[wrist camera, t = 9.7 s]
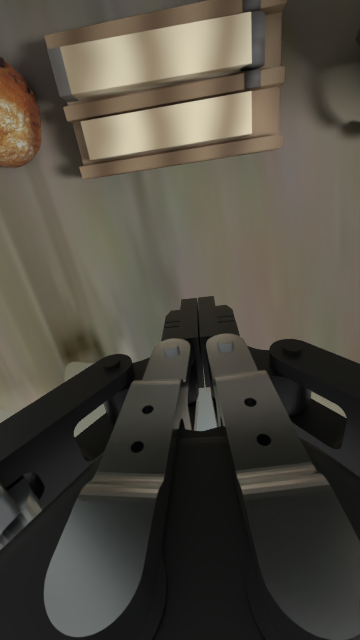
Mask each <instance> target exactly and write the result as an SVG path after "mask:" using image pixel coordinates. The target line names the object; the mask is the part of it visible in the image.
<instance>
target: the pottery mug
mask: <svg viewBox="0 0 360 640" xmlns="http://www.w3.org/2000/svg"><path fill="white" fill-rule="evenodd" d="M356 42H357V43H358V44H359V46H360V28H359V30H358V33H357V38H356Z"/></svg>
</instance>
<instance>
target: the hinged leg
mask: <svg viewBox="0 0 360 640" xmlns="http://www.w3.org/2000/svg"><path fill="white" fill-rule="evenodd" d="M47 51H48V55H49V59H50V63H51V66H52V70H53V74H54V78H55V81H56V85H57V89H58V92H59V96H60V97H61V98H62V99H64V100H65V101H67V102H68V103H69V102H75V101H81V100H86V99H92V98H98V97H104V96H109V95H115V94H121V93H127V92H133V91H138V90H144V89H150V88H156V87H162V86H167V85H173V84H179V83H185V82H191V81H196V80H202V79H208V78H214V77H219V76H225V75H231V74H237V73H243V72H247V71H251V70H256V69H259V68H261V67H263V66H264V65H265V13H264V12H263V11H253V12H246V13H241V14H235V15H230V16H225V17H219V18H214V19H208V20H203V21H198V22H192V23H187V24H181V25H176V26H171V27H165V28H160V29H154V30H149V31H143V32H138V33H133V34H127V35H122V36H116V37H111V38H106V39H100V40H95V41H89V42H84V43H79V44H73V45H68V46H62V47H57V48H51V49H47Z"/></svg>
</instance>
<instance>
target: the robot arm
mask: <svg viewBox="0 0 360 640" xmlns="http://www.w3.org/2000/svg"><path fill="white" fill-rule="evenodd" d="M198 306H199V311H198ZM203 367H204V374H203ZM204 375H205V384H206V387H211V396H212V404H213V409H214V415H215V421H216V426H217V427H216V428H213V429H210V430H206V431H196V430H197V416H198V393H199V388H204ZM311 391H313V392H314V393H316V394H318V395H320V396H322V397H324V398H326V399H327V400H329V401H331V402H333V403H335V404H337V405H338V406H339V407H340V408H341V409H342V410H343V411H344V412H345V414H346V417H347V418H345V417H343V416H341V415H340V414H338V413H336V412H334V411H332V410H331V409H329V408H327V407H325V406H324V405H322V404H320V403H318V402H316V401H315V400H313V399H311ZM101 404H104V406H105V409H106V413H105V414H104V415H103V416H101V417H100V418H99V419H98V420H96V421H95V422H94V423H93V424H91V425H90V426H89V427H88V428H86V429H85V430H84V431H83V432H81V433H80V434H79V435H78V436H76V437H74V429H75V427H76V425H77V424H78V422H79V421H81V420H82V419H83V418H84V417H86V416H87V415H88V414H90V413H91V412H92V411H93V410H95V409H96V408H97V407H99V406H100V405H101ZM0 640H360V364H359V363H356V362H354V361H351V360H349V359H346V358H344V357H341V356H339V355H336V354H334V353H331V352H329V351H326V350H324V349H321V348H319V347H316V346H314V345H311V344H309V343H306V342H304V341H300V340H296V339H283V340H279V341H276V342H274V343H273V344H272V345H271V346H270V350H260V349H255V348H251V347H249V346H247V345H246V343H245V341H244V339H243V338H242V337H240V335H239V331H238V328H237V324H236V321H235V317H234V314H233V310H232V309H231V308H230V307H228V306H227V305H221V306H215V301H214V296H209V297H200V298H198V302H197V298H191V299H182V300H181V310H174V311H171V312H170V313H169V314H168V315H167V316H166V318H165V324H164V329H163V335H162V340H161V342H160V343H158V344H157V345H156V346H155V347H154V348H153V351H152V354H151V356H150V357H149V358H147V359H145V360H142V361H138V362H135V363H132V360H131V358H130V357H129V356H127V355H124V354H114V355H110V356H107V357H105V358H102V359H101V360H99V361H98V362H96V363H94V364H93V365H91V366H90V367H88V368H87V369H85V370H84V371H82V372H80V373H79V374H77V375H75V376H74V377H72V378H71V379H69V380H68V381H66V382H64V383H63V384H61V385H60V386H58V387H57V388H55V389H53V390H52V391H50V392H49V393H47V394H46V395H44V396H42V397H41V398H39V399H38V400H36V401H35V402H33V403H31V404H30V405H28V406H27V407H25V408H23V409H22V410H20V411H19V412H17V413H16V414H14V415H12V416H11V417H9V418H8V419H6V420H5V421H3V422H1V423H0Z"/></svg>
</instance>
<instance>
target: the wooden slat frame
mask: <svg viewBox="0 0 360 640" xmlns="http://www.w3.org/2000/svg"><path fill="white" fill-rule="evenodd" d="M286 4H287V0H207V1H202V2H198V3H193V4H188V5H184V6H179V7H174V8H170V9H165V10H160V11H156V12H151V13H146V14H142V15H137V16H132V17H128V18H123V19H118V20H114V21H109V22H104V23H100V24H95V25H90V26H86V27H81V28H76V29H72V30H67V31H62V32H58V33H53V34H48V35H44V37H45V41H46V45H47V48H48V49H51V48H57V47H62V46H68V45H73V44H79V43H84V42H89V41H95V40H100V39H106V38H111V37H116V36H122V35H127V34H133V33H138V32H143V31H149V30H154V29H160V28H165V27H171V26H176V25H181V24H187V23H192V22H198V21H203V20H208V19H214V18H219V17H225V16H230V15H235V14H241V13H246V12H253V11H263V12H264V13H265V65H264V66H263V67H261V68H259V69H256V70H251V71H247V72H243V73H237V74H231V75H225V76H219V77H214V78H208V79H202V80H196V81H191V82H185V83H179V84H173V85H167V86H162V87H156V88H150V89H144V90H138V91H133V92H127V93H121V94H115V95H109V96H104V97H98V98H92V99H86V100H81V101H75V102H69V103H68V102H67V104H68V106H66V107H63V108H64V112H65V116H66V119H67V121H68V122H70V123H73V127H74V131H75V135H76V139H77V143H78V146H79V150H80V154H81V158H82V162H83V166H82V167H79V168H80V172H81V175H82V179H91V178H99V177H105V176H112V175H118V174H124V173H131V172H137V171H143V170H150V169H156V168H163V167H169V166H175V165H182V164H188V163H194V162H201V161H207V160H213V159H220V158H226V157H232V156H239V155H245V154H251V153H258V152H264V151H271V150H275V149H279V148H282V147H283V134H279V111H280V86H281V85H282V84H283V83H284V81H285V66H281V31H282V11H283V9H284V7H285V6H286Z"/></svg>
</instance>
